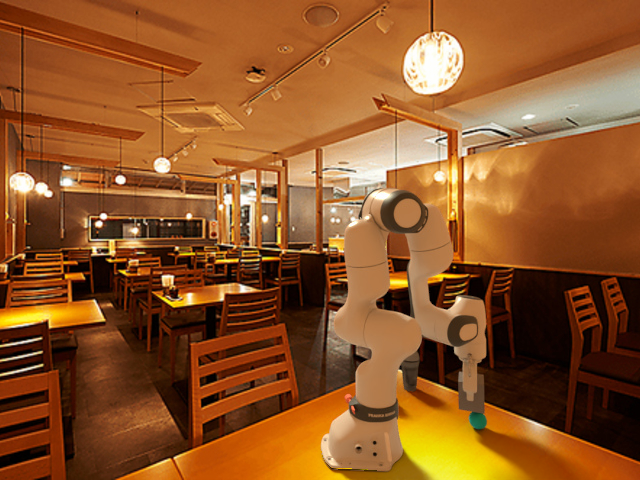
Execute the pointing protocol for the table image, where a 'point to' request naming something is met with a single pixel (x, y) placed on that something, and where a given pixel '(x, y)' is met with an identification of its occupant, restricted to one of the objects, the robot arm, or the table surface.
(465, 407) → the matte grey cube
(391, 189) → the robot arm
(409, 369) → the beverage cup
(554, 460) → the table surface
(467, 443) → the table surface
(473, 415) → the ball
